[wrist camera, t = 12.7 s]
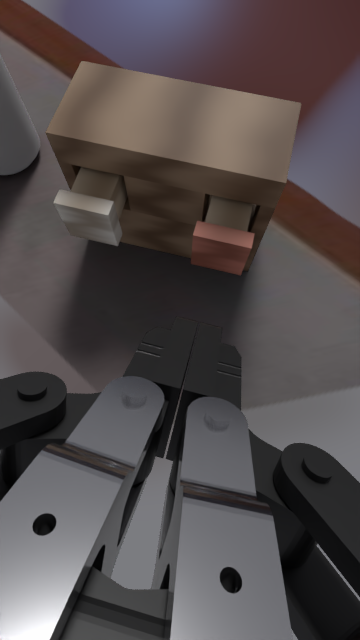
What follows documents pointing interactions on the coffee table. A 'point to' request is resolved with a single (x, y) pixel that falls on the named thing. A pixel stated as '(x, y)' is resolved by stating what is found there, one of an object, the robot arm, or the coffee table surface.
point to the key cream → (94, 206)
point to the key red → (223, 236)
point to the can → (14, 128)
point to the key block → (174, 150)
